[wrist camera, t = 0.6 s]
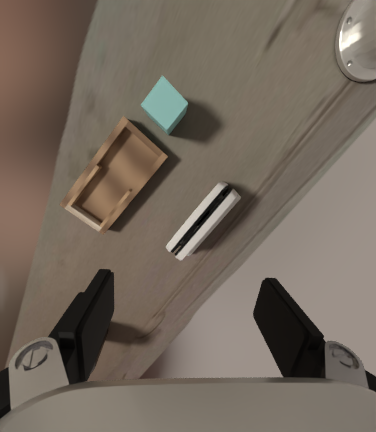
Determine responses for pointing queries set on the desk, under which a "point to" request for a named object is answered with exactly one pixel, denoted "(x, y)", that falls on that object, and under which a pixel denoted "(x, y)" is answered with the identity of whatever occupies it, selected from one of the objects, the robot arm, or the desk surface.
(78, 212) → the slot board
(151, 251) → the desk surface
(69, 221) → the desk surface
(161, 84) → the aqua rectangular block
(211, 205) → the white piece
